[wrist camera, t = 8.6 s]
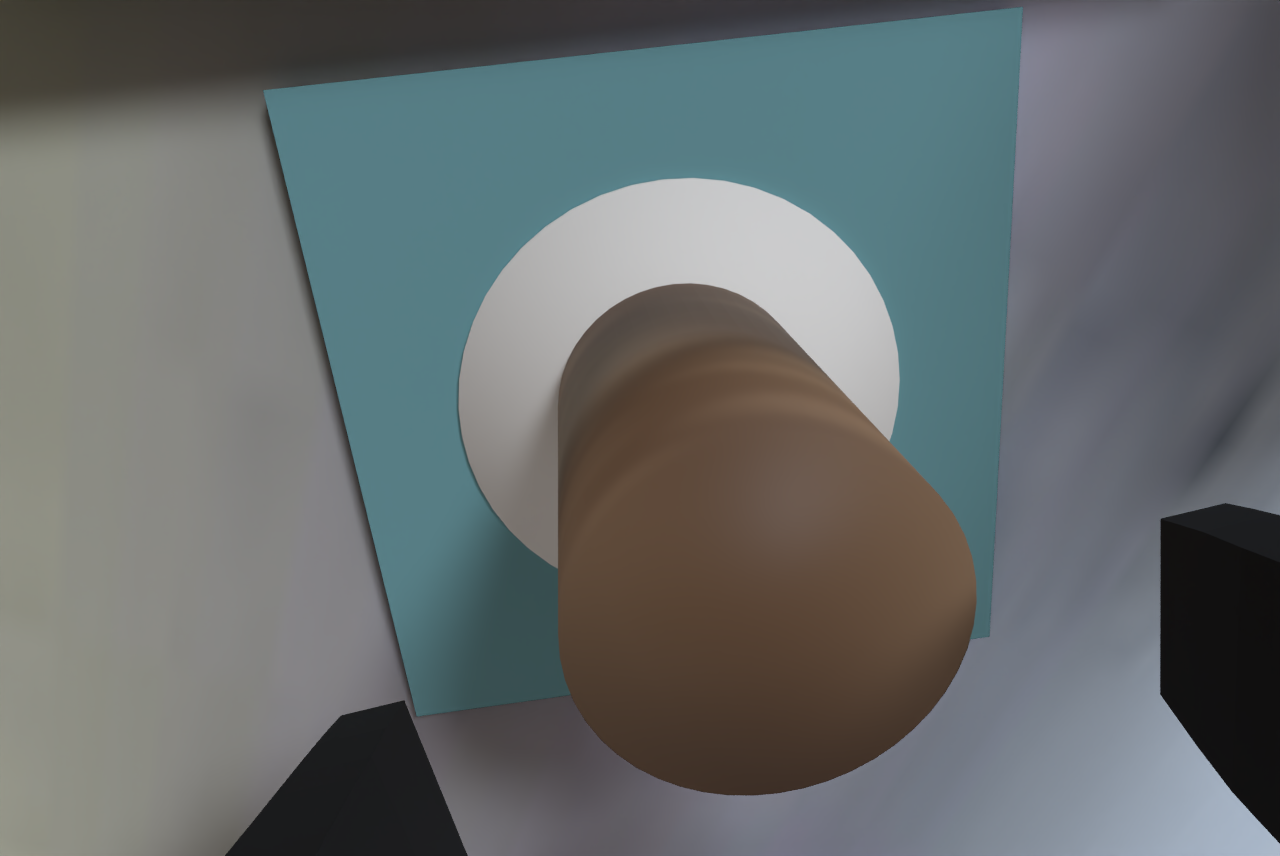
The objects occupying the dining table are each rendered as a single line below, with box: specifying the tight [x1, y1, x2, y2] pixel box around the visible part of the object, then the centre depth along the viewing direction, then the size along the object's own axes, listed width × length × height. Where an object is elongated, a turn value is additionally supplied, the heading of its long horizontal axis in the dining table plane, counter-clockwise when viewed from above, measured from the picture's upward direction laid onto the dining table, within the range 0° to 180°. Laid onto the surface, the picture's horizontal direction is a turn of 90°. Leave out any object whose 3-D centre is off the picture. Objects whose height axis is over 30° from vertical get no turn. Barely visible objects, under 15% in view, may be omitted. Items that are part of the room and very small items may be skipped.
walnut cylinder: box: [558, 283, 977, 795], centre depth 13 cm, size 4×4×7 cm
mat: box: [263, 7, 1023, 716], centre depth 16 cm, size 12×12×1 cm
